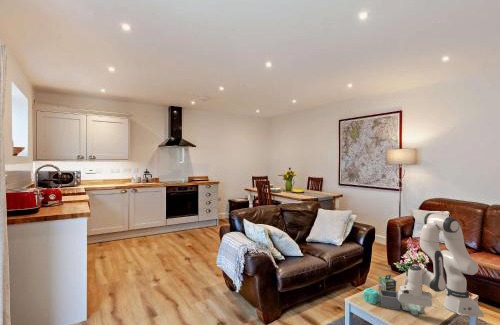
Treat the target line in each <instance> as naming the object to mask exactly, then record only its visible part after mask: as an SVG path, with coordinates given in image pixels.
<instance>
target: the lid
mask: <svg viewBox="0 0 500 325" xmlns="http://www.w3.org/2000/svg"><path fill="white" fill-rule="evenodd" d="M405 305H406V306H407V307H408V309H405ZM405 305H404V303H401V302H400V308H401V309H402V311H407V312H410V314H411V315H413V316H418V314H419V313H421V314H424V312H421V311H420V308H422V306H421V305H415V304H408V303H406V304H405Z"/></svg>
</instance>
